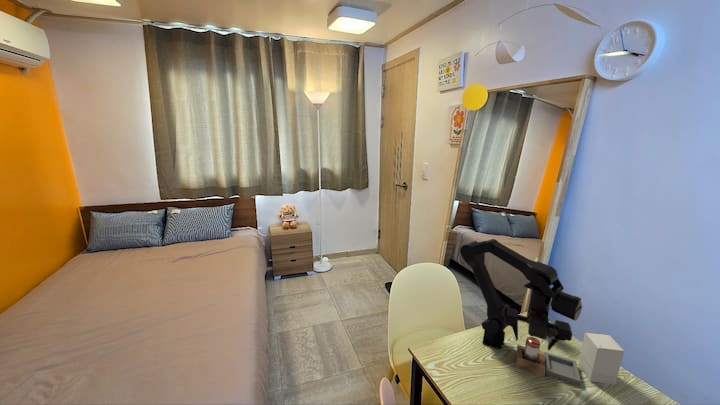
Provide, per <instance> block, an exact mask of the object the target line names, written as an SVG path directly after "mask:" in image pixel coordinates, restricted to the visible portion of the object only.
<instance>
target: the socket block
mask: <svg viewBox="0 0 720 405" xmlns="http://www.w3.org/2000/svg"><path fill="white" fill-rule="evenodd" d="M516 346H517V347H516V354H515V355H516V356H515V357H516V361H515V364H516V369H517V368H518V369H520V370H523V371H526V372H528V373H532V374H536V375H537V376H541V377H545V376H546V373H545V369H546V368H545V359H544V352H545V351H540V350H539V354H538V359H537V363H535V362H532V361H528V360H525V359H523V357H524V351H525V345H521V344H517V345H516Z"/></svg>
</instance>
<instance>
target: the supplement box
mask: <svg viewBox="0 0 720 405" xmlns="http://www.w3.org/2000/svg"><path fill="white" fill-rule="evenodd" d="M624 352H625V350H624V349H623V348H622V347H621V346H620V345H619V343H617V342H616V341H615V340H614V338H612V336H611V335H607V334H601V333H593V332H592V333H589V332H585V333H584V336H583V342H582V346H581V351H580V356H579V360H578V366H579V367H580V368H581V370H582V372H583V373H584V374H585V376H586V377H587V379H588V380H589V381H590V382H593V383H601V384H605V385H606V384H607V385H617V380H618V376H619V373H620V368H621V365H622V360H623V357H624V354H625V353H624Z"/></svg>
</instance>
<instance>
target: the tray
mask: <svg viewBox="0 0 720 405" xmlns="http://www.w3.org/2000/svg"><path fill="white" fill-rule="evenodd" d="M543 352H544V359H545V368H546V369H545V376H548V377H551V378H554V379H557V380H560V381H564V382H567V383H570V384H573V385H576V386H578V387H580V386H581V377H580V376H581V375H580V372H579V368H578V364H577V361H576V360H574V359H570V358H567V357H563V356H560V355H558V354H557V355H555V354H554V353H550V352H547V351H543Z"/></svg>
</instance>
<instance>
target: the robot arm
mask: <svg viewBox="0 0 720 405" xmlns="http://www.w3.org/2000/svg"><path fill="white" fill-rule="evenodd" d="M486 253H487V254H488V253H489V254H492V255H493V256H495V257H497V259H499V260H501V261H503V262H504V263H506V264H508V265H509V266H511V267H512V268H514V269H516V270H517V271H519V272H520V273H522V274H523V276H524V277H525V279H526V280H527V281H528V282H527V283H525V284H524V285H523V287H524V288H527V289H529V290H530V294H529V300H528V307H527V312H526V316H525V315H522V314H519V310H517V309H514V308H511V306H510V305H509V304H506V305H505V304H504V302H502V301H501V298H500V296H499V294H498V292H497V290H496V287H495V285H494V282H493V280H492V278H491V275H490V274H489V271H488V269H487V267H486V264H485V260H486V259H485V258H486V255H485V254H486ZM459 254H460V255H461V257H462V260H463V261H464V263H466V265H468V266H469V267H470V268H471V270H472V272H473V274H474V277H475V279H476V282H477V284H478V286H479V289H480V292H481V293H482V296H483V298H484V301H485V303H486V316H487V318H486V319H485V320H484V321H482V322H481V327H482V330H484V331H483V338H482V344H483V345H486V346H489V347H492V348H495V349H498V350H502V349H503V346H505V344H504V343H505V337H506V336H505V335H506V332H505V329H507V328H508V327H511V328H512V330H513V333H514V337H515V341H518V340H519V322H520V323H522V324H523V323H524V324H528V328H527V329H528V332H527V333H528V335H529V337H534V338H537V339H541V340H546V339H547V337H548V338H549V340H548V342H547V351H550V350H552V348H553V347H554V346H555V345H556V343H558V342H560V341H562V342H565V341H568V342H569V341H572V339H573V331H572V327H571V324H570V323H569V322H565V321H562V320H558V319H555V321H554V323H553V322H550V321H549V313H550V308H551V311H553V312H554V313H557V314H559V315H561V316H563V317H566V318H568V319H570V320H572V321H577V320H578V319H579V317H580V315H581V312H582V310H583V305H582V298H581V297H580V296H577V295H576V296H575V295H571V294H569V293H567V292H564V291H563V290H565V288H564V285H563V284H562V283H561V281H560V279H559V276H558V275H559V274H558V271H557V270H556V269H555V268H554V267H553V266H550V265H549V264H546V263H543V262H540V261H536V260H532V259H529V258H527V257H525V256H523V255H522V254H520V253H519V252H516V251H514V250H513V249H511V248H509V247H508V246H506V245H504V244H502V243H501V242H499V241H498V239H494V238H491V239H488V240H483V241H476V240H472V241H471V242H468V243H466V244H463V245H461V247H460V249H459ZM551 286H552V287H551Z"/></svg>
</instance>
